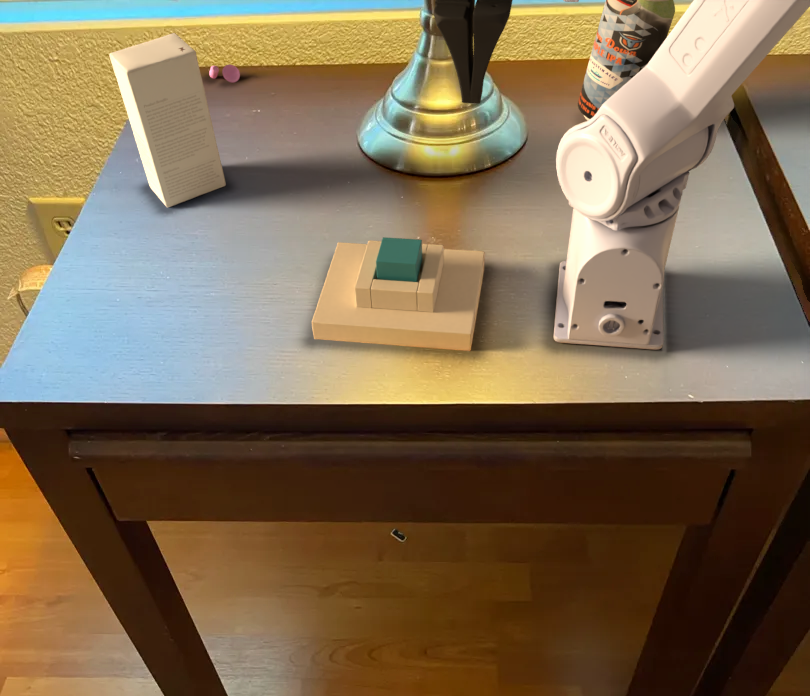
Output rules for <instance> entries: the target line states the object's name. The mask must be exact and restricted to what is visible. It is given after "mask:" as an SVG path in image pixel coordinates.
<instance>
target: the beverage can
mask: <svg viewBox="0 0 810 696" xmlns="http://www.w3.org/2000/svg"><path fill="white" fill-rule="evenodd" d="M675 14H676V6H675V1H674V0H605V1H604V5H603V8H602V13H601V17H600V20H599V23H598V28H597V31H596V33H595V38H594V41H593V45H592V49H591V53H590V57H589V59H588V64H587V68H586V71H585V75H584V78H583V82H582V86H581V89H580V93H579V97H578V100H577V108H578V110H579V112H580V113H581V114H582V115H583V117H584V119H585V121H588V120H590V119H591V118H592V117H594V116H595V114H596V113H597V112H598V110H599V109H600V107H601V106H602V105H603V103H604V102H605V101H607V100H608V99H609V98H610V97H611V96H612V95H613V94H614V93H616V92H617V91H618V90H619V89H620V88H621V87H622V86H624V85H625V84H626V83H627V82H628V81H629V80H630V79H632V78H633V77H634V76H635V75H636V74H637V73H638V72H640V71H641V70H642V69H643V68H644V67H645V66H646V65H647V64H648V63H649V61H650V60H651V58H652V57H653V56H654V54H655V53H656V52H657V50H658V49H659V47H660V46H661V45H662V43H663V42H664V41H665V39H666V38H667V36H668V35H669V33H670V29H671V26H672V23H673V21H674V17H675Z"/></svg>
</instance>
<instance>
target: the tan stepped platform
mask: <svg viewBox="0 0 810 696" xmlns="http://www.w3.org/2000/svg"><path fill="white" fill-rule="evenodd" d="M381 242H382V240H368V241H367V243H357V242H343V241H342V242H341V241H340V242H339V241H338V242H337V244H336V247H335V250H334V253H333V256H332V258H331V262H330V265H329V268H328V271H327V274H326V276H325V280H324V283H323V286H322V289H321V291H320V295H319V298H318V301H317V305H316V308H315V311H314V314H313V316H312V320H311V328H312V329H311V330H312V335H313V339H314V340H324V341H334V342H335V341H337V342H348V343H359V344H361V343H362V344H375V345H387V346H398V347H399V346H402V347H415V348H425V349H426V348H427V349H440V350H451V351H454V350H455V351H465V352H467V351H468V352H470V351H471V350H472V346H473V345H472V344H473V338H474V333H475V327H476V321H477V314H478V308H479V303H480V296H481V290H482V284H483V280H484V279H483V278H484V273H485V263H486V262H485V261H486V260H485V259H486V252H485V251H484V250H483V251H481V250H468V249H452V248H444V245H443V244H432V243H422V263H421V267H420V271H419V275H418V280H417V282H407V281H392V280H377V269H376V260H377V256H378V253H379V249H380V245H381Z"/></svg>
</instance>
